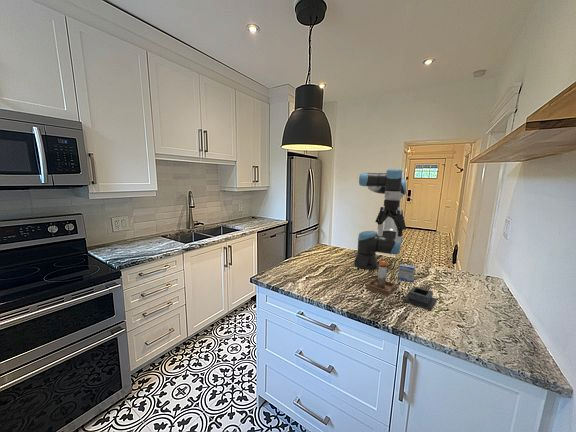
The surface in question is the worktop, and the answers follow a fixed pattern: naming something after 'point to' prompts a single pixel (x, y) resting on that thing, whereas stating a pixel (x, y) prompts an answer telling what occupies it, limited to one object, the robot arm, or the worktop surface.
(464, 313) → the worktop surface
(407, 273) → the medicine box
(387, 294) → the tray
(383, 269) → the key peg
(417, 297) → the block
